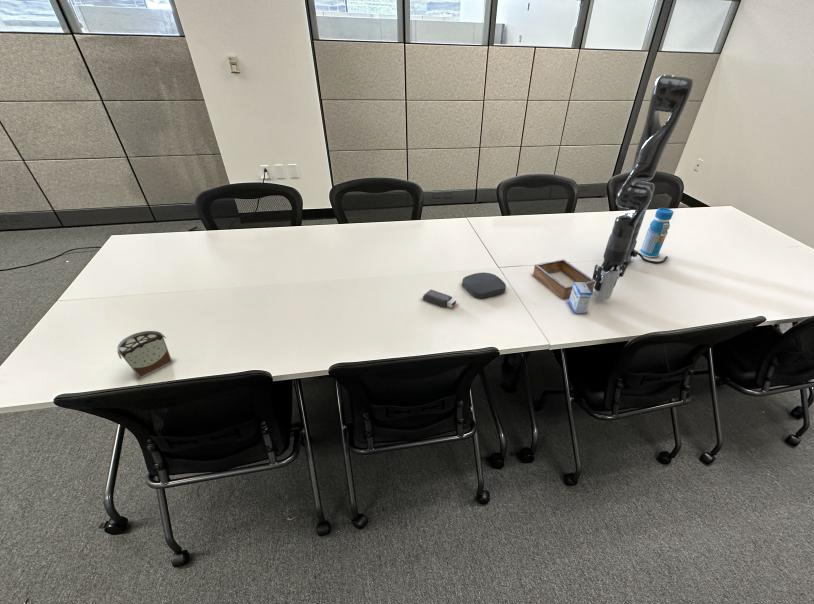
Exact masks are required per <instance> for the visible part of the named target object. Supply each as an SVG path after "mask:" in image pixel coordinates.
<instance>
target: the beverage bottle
mask: <svg viewBox="0 0 814 604" xmlns="http://www.w3.org/2000/svg"><path fill="white" fill-rule="evenodd" d="M656 209H657V210H656V211H655V214H654V217H655V218H654V219H652V220H651V222H650V223H649V227H648V228H647V230H646V234H645V237H644V240H643V241H642V245H641V248H640V251H639V253H640V254H641V255H642V256H643V257H644V256H645V257H647V258H656V257H658V256H659V255H660V251H661V249H662V247H663V245H664V242H665V240H666V237H667V236H668V233H669V232H668V230H669V229H670V227H671V225H670V221H671V220H672V218H673V215H674V210H672V209H671V208H667V207H658V208H656Z"/></svg>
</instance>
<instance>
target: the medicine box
mask: <svg viewBox="0 0 814 604" xmlns="http://www.w3.org/2000/svg"><path fill="white" fill-rule="evenodd" d="M572 285H573V288H572V292H571V295H570V297H569V299H568V304H569V305H570V307H571V309H572V310H573V312H574V314H586V313H587V311H588V309H589V306H590V303H591V299H592V296H593V291H592V292H591V291H590V290H589V288H588V287H587V285H586V284H585V283H584V282H576V281H575V282H573V284H572Z"/></svg>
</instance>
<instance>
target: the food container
mask: <svg viewBox="0 0 814 604" xmlns="http://www.w3.org/2000/svg"><path fill="white" fill-rule="evenodd" d="M165 339H167V337H166V336H165V335H164V334H163V333H162V332H160V331H157V330H144V331H140V332H139V331H138V332H136V333H133V334H130V335H128V336H126V337H125V338H124V339H123V338H122V340H121V341H120V342H119V343H118V345H117V347H116V348H117V350H116V351H117V355H118V358H119V359H120V360H122V359H124V360H125V362H126V363H127V364H128V366H130V368H131V369H132V371H133V372H134V373H135V374H136V375H137V376H138V378H139V379H142V378H144V377H146V376H148V375H150V374H152V373H153V372H156V371H158V370H160V369H161V368H163V367H165V366H167V365H170V364H171V363H173V360H172V356H171V354H170V351H169V349H168V346H167V344H166V341H165Z"/></svg>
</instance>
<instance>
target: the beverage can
mask: <svg viewBox="0 0 814 604" xmlns="http://www.w3.org/2000/svg"><path fill="white" fill-rule="evenodd" d="M601 273H603V274H606V273H607V272H605V271H603V270H602V272H601ZM617 276H618V270H615V271H611V272H609V273H608V275H607V277H606V278H604V280H603V282H602V285H601V289H600V291H596V290H595V289H593V290H594V291H593V293H592V296H593V297H594V298H595V299H596V300H598V301H603V302H604V301H605V302H606V301H608V300H610V299H611V297H612V294H613V291H614V288H615V286H616V285H615V282H616V279H617ZM601 278H602V275H601V276H600V279H601ZM617 280H618V279H617ZM616 283H617V282H616ZM614 285H615V286H614Z"/></svg>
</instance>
